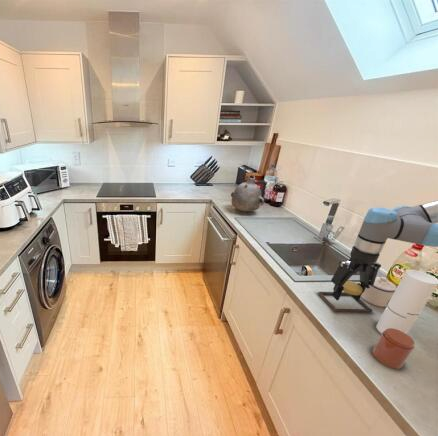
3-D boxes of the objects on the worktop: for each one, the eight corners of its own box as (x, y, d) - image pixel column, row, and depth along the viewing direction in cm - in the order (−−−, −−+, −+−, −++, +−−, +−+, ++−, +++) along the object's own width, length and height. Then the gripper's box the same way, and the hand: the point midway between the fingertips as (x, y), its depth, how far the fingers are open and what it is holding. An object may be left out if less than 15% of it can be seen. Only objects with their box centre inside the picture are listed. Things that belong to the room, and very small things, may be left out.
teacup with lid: (392, 311, 93) (405, 287, 88) (363, 304, 96) (374, 281, 91) (378, 292, 103) (389, 270, 99) (353, 286, 106) (362, 265, 102)
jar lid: (343, 293, 91) (344, 290, 90) (333, 281, 97) (335, 278, 97) (365, 296, 89) (367, 293, 89) (354, 284, 96) (355, 280, 95)
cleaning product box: (258, 201, 213) (262, 179, 205) (262, 204, 204) (266, 182, 196) (239, 201, 213) (243, 179, 205) (242, 204, 205) (246, 182, 197)
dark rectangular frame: (350, 296, 101) (352, 292, 100) (370, 314, 91) (372, 310, 91) (317, 295, 101) (318, 291, 100) (333, 313, 92) (335, 309, 91)
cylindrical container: (407, 345, 79) (445, 286, 69) (381, 338, 81) (414, 280, 71) (395, 328, 85) (429, 272, 75) (371, 323, 88) (400, 267, 78)
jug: (227, 214, 185) (232, 176, 173) (229, 205, 203) (234, 170, 191) (261, 219, 177) (269, 179, 164) (260, 209, 195) (267, 173, 183)
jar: (386, 350, 77) (400, 327, 73) (407, 370, 71) (423, 347, 67) (365, 349, 78) (378, 326, 73) (384, 370, 71) (399, 346, 67)
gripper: (385, 244, 89) (362, 292, 98) (331, 243, 89) (314, 291, 99) (404, 255, 82) (378, 305, 91) (346, 254, 83) (326, 304, 92)
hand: (345, 297), depth 95 cm, fingers closed on jar lid, 7 cm apart
